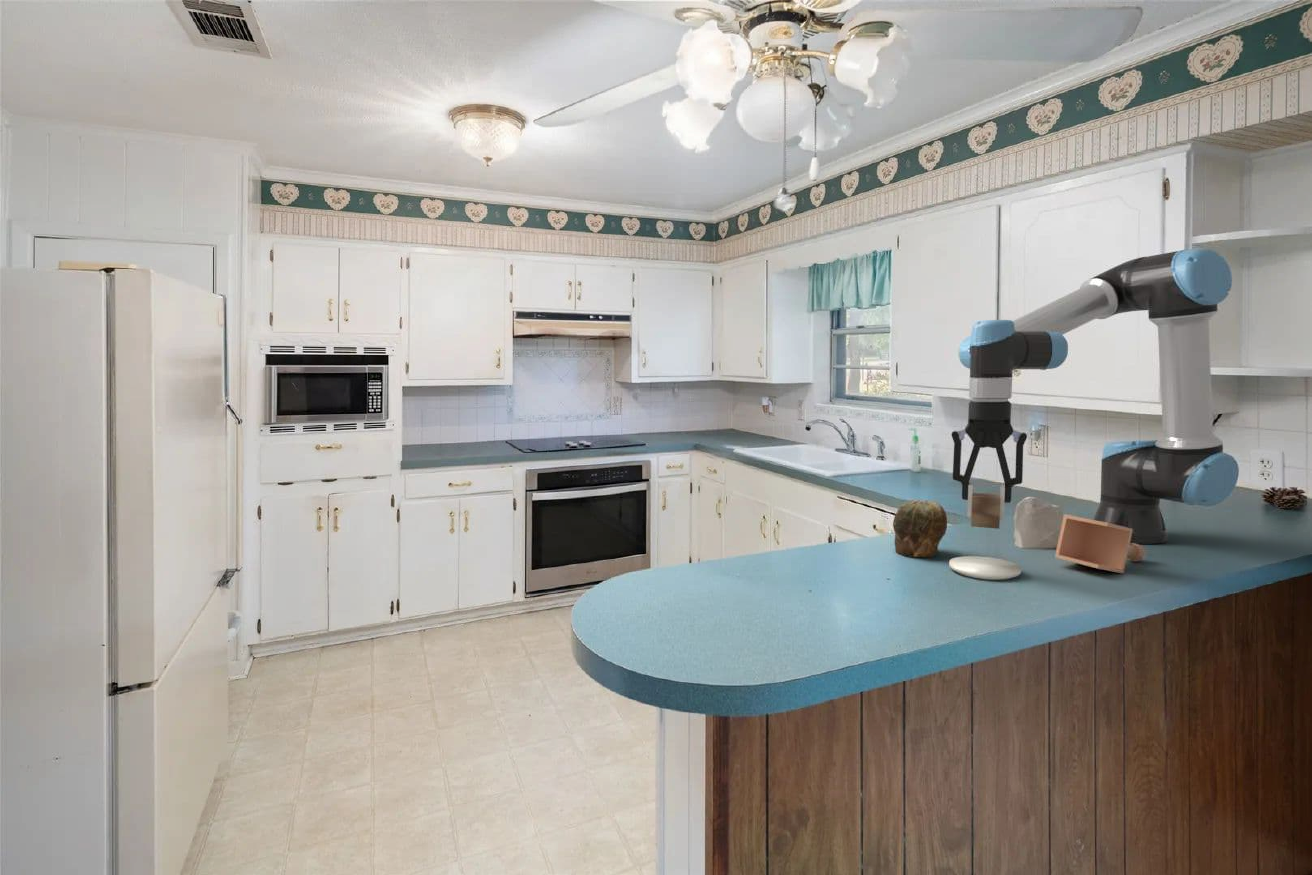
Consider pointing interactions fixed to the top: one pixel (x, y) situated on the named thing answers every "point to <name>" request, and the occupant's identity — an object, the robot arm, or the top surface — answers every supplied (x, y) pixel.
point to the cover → (1097, 544)
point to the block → (985, 510)
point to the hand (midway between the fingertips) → (985, 517)
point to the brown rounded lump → (919, 528)
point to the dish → (985, 567)
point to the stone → (1037, 524)
